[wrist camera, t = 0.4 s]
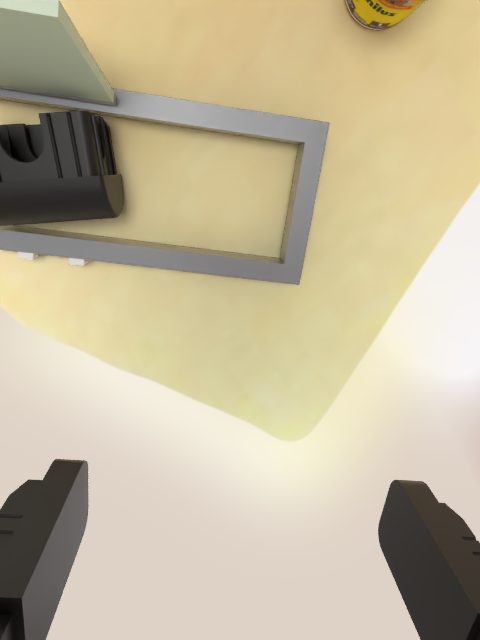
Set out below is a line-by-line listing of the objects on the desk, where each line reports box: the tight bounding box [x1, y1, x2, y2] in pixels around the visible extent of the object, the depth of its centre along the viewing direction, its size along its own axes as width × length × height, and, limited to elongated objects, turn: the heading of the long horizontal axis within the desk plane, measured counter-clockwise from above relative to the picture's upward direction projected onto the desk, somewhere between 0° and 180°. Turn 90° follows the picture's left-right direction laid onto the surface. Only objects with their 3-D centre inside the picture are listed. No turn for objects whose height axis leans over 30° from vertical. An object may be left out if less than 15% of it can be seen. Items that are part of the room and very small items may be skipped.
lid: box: [0, 0, 117, 106], centre depth 24 cm, size 12×10×1 cm
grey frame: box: [0, 88, 329, 285], centre depth 33 cm, size 13×26×2 cm, turn 82°
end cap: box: [0, 111, 123, 226], centre depth 31 cm, size 10×7×7 cm
